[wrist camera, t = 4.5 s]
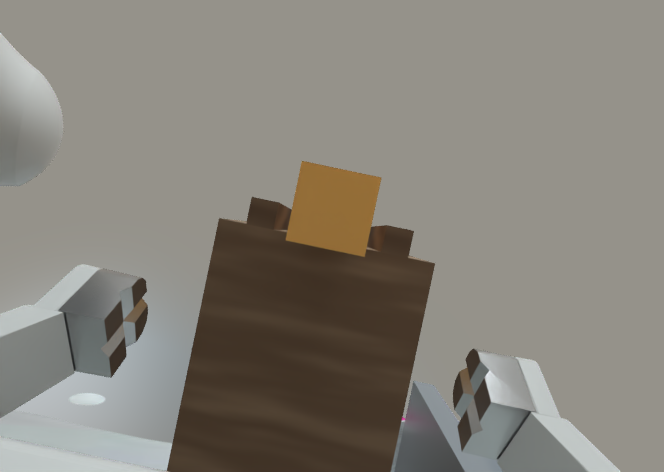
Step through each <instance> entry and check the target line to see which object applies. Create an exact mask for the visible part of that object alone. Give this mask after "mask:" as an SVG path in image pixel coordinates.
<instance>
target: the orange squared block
mask: <svg viewBox="0 0 664 472" xmlns="http://www.w3.org/2000/svg"><path fill="white" fill-rule="evenodd" d="M380 182H381V178H380V177H376V176H371V175H366V174H362V173H357V172H352V171H347V170H343V169H338V168H333V167H328V166H324V165H319V164H314V163H309V162H304V161H302V163H301V168H300V173H299V178H298V183H297V187H296V192H295V197H294V202H293V207H292V211H291V216H290V221H289V226H288V230H287V235H286V241H291V242H296V243H301V244H305V245H310V246H315V247H320V248H325V249H329V250H334V251H339V252H344V253H348V254H353V255H358V256H363V257H365V253H366V248H367V243H368V239H369V234H370V229H371V224H372V220H373V215H374V210H375V205H376V201H377V195H378V191H379V186H380Z"/></svg>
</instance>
